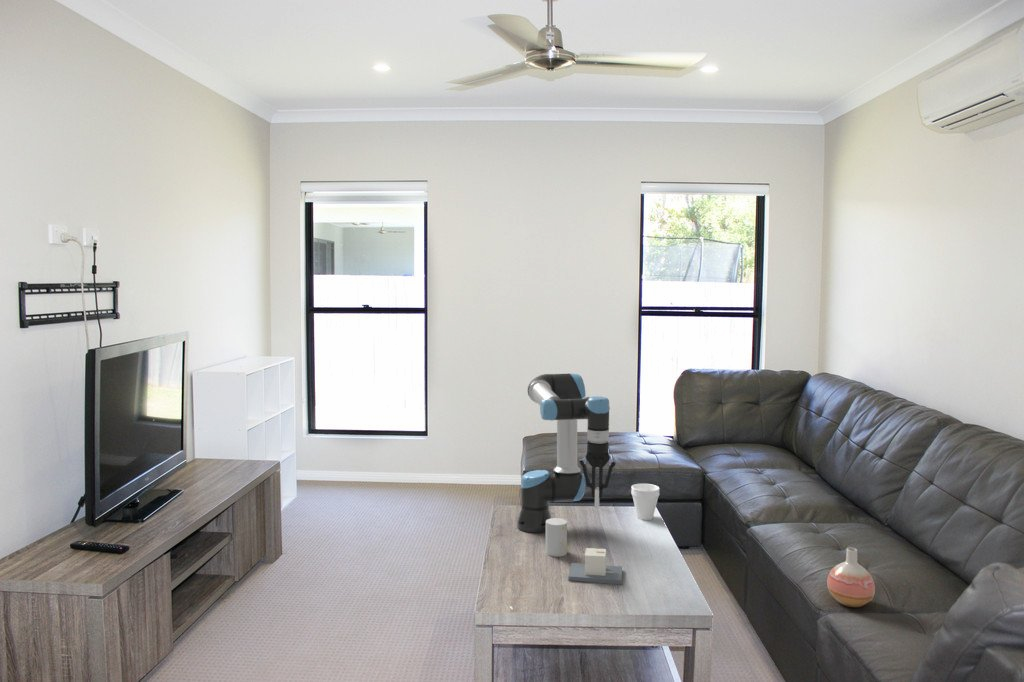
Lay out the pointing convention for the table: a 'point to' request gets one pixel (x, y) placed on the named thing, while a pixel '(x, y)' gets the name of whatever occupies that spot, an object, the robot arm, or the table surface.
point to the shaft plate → (610, 577)
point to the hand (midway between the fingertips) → (596, 506)
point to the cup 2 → (645, 500)
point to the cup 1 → (556, 537)
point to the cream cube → (595, 561)
